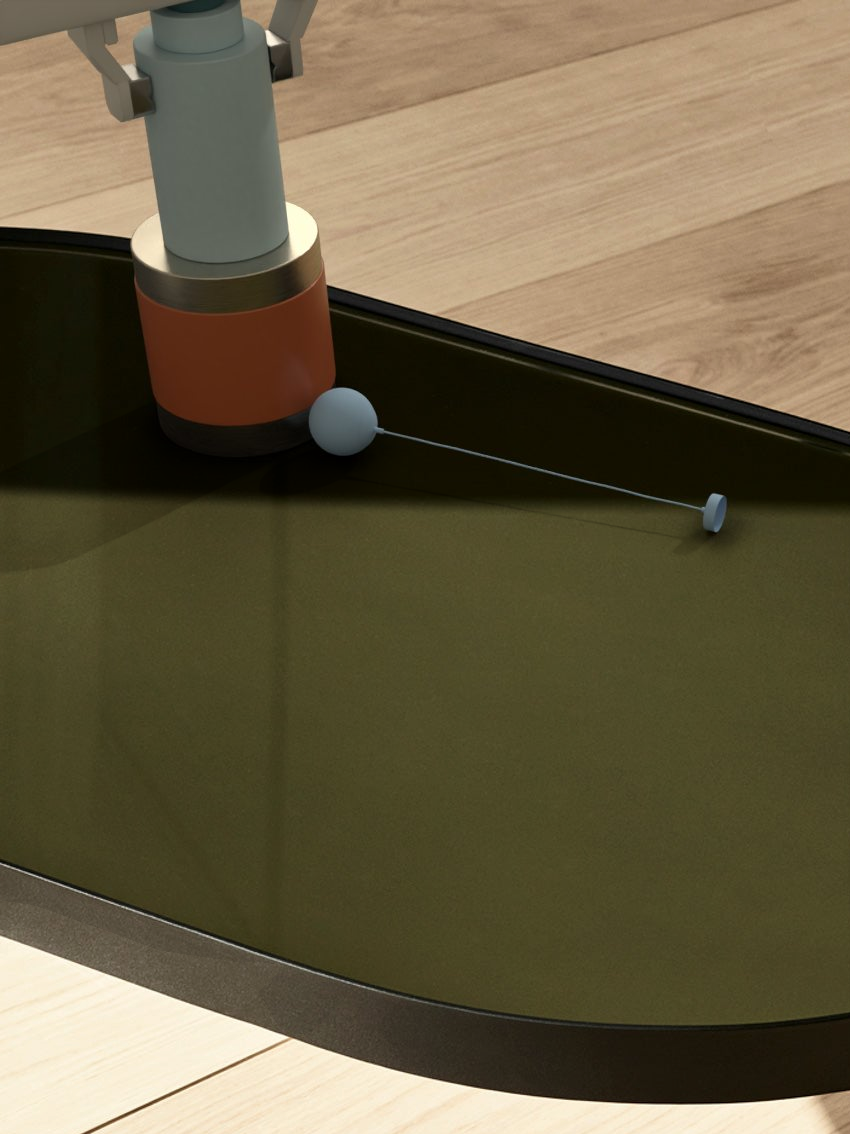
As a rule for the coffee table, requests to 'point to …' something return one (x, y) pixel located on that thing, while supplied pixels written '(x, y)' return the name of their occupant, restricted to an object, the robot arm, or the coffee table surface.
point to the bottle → (212, 132)
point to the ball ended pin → (352, 425)
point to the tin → (236, 341)
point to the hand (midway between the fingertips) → (207, 95)
